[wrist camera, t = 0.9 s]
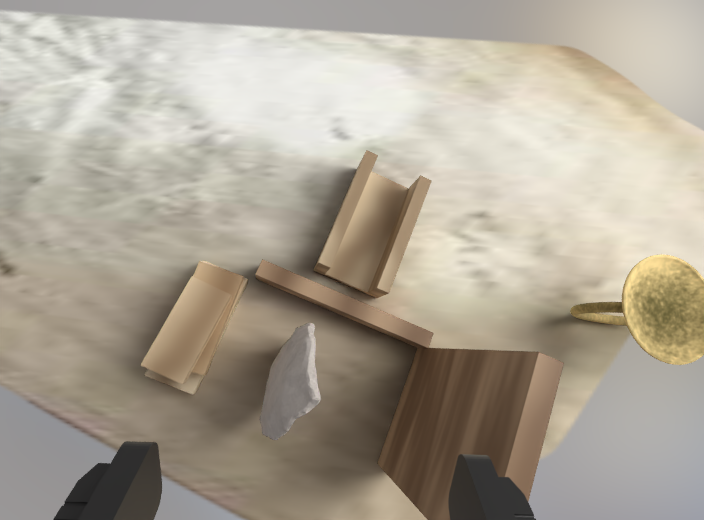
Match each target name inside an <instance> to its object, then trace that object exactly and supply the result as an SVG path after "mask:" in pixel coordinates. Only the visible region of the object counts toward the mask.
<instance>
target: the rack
mask: <svg viewBox="0 0 704 520" xmlns="http://www.w3.org/2000/svg"><path fill="white" fill-rule="evenodd" d="M255 275H256V279H257V280H260V281H262V282H264V283H267V284H269V285H271V286H274V287H276V288H278V289H281V290H283V291H285V292H288V293H290V294H293V295H295V296H297V297H300V298H302V299H304V300H307V301H309V302H311V303H314V304H316V305H318V306H321V307H323V308H325V309H328V310H330V311H333V312H335V313H337V314H340V315H342V316H344V317H347V318H349V319H351V320H354V321H356V322H358V323H361V324H363V325H366V326H368V327H370V328H373V329H375V330H377V331H380V332H382V333H384V334H387V335H389V336H391V337H394V338H396V339H398V340H401V341H403V342H406V343H408V344H410V345H413V346H415V347H417V351H416V354H415V357H414V359H413V362H412V365H411V368H410V371H409V374H408V377H407V380H406V382H405V385H404V388H403V391H402V394H401V397H400V400H399V403H398V405H397V408H396V411H395V414H394V417H393V420H392V423H391V425H390V428H389V431H388V434H387V437H386V440H385V443H384V446H383V448H382V451H381V454H380V457H379V460H378V463H377V464H378V465H379V466H380V467H381V468H382V469H383V470H384V472H385V473H386V474H387V475H388V476H389V477H390V478H391V479H392V480H393V482H394V483H395V484H396V485H397V486H398V487H399V488H400V489H401V490H402V492H403V493H404V494H405V495H406V496H407V497H408V498H409V499H410V501H411V502H412V503H413V504H414V505H415V506H416V507H417V508H418V509H419V511H420V512H421V513H422V514H423V515H424V516H425V517H426V518H427V520H450V515H449V506H448V498H449V491H450V487H451V483H452V479H453V475H454V471H455V466H456V462H457V458H458V456H459V455H460V454H470V455H487V456H489V457H490V459H491V461H492V463H493V465H494V468H495V470H496V472H497V475H498V477H509V478H510V479H511V480H512V481H513V482H514V483H515V485H516V486H517V487H518V488H519V489H520V490H521V491H522V492H523V494H524V495H525V497H526V499H527V501H528V500H529V496H530V492H531V488H532V485H533V481H534V476H535V473H536V469H537V465H538V461H539V458H540V454H541V450H542V446H543V442H544V438H545V434H546V430H547V426H548V423H549V419H550V415H551V411H552V407H553V403H554V399H555V395H556V392H557V388H558V384H559V380H560V376H561V372H562V368H563V364H564V363H563V362H561V361H558V360H556V359H554V358H551V357H549V356H547V355H545V354H542V353H540V352H524V351H496V350H469V349H441V348H429V345H430V342H431V339H432V336H433V333H432V332H430V331H428V330H425V329H423V328H421V327H418V326H416V325H414V324H411V323H409V322H407V321H404V320H402V319H400V318H397V317H395V316H393V315H390V314H388V313H386V312H384V311H381V310H379V309H377V308H374V307H372V306H370V305H367V304H365V303H363V302H360V301H358V300H356V299H353V298H351V297H349V296H346V295H344V294H342V293H339V292H337V291H335V290H332V289H330V288H328V287H325V286H323V285H321V284H318V283H316V282H314V281H311V280H309V279H307V278H305V277H302V276H300V275H298V274H295V273H293V272H291V271H288V270H286V269H284V268H281V267H279V266H277V265H274V264H272V263H270V262H267V261H265V260H263V259H262V261H261V264H260V266H259V268H258V270H257V272H256V274H255Z"/></svg>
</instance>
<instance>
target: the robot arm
mask: <svg viewBox="0 0 704 520" xmlns="http://www.w3.org/2000/svg"><path fill="white" fill-rule="evenodd" d="M161 493H162V478H161V469H160V460H159V450H158V445H157V443H156V442H128V441H126V442H124V443H123V444H122V445H121V447H120V449H119V450H118V452H117V454H116V455H115V457H114V459H113V460H112V462H111V464H107V463H98V464H97V465H96V466H95V467H93V468H92V469H91V470H90V471H89V472H88V473H87V474H85V475H84V476H83V477H82V478H81V479H80V480H78V482H77V483H76V485H75V487H74V488H73V490H72V491H71V493H70V495H69V496H68V498H67V499H66V501H65V504H64V506H62V507H61V508H60V510H59V511H58V513H57V515H56V516H55V518H54V520H154V517H155V515H156V512H157V510H158V507H159V503H160V499H161ZM448 506H449V515H450V520H536V519H534V514H533V512H532V510H531V508H530V505H529V503H528V501H527V499H526V497H525V495H524V494H523V492H522V491H521V490H520V489H519V488H518V487H517V486H516V485H515V483H514V482H513V481H512V480H511V479H510V478H509V477H498V475H497V472H496V470H495V468H494V465H493V463H492V461H491V459H490V457H489V456H487V455H470V454H460V455H459V456H458V458H457V462H456V466H455V471H454V475H453V479H452V483H451V487H450V491H449V498H448Z"/></svg>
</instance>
